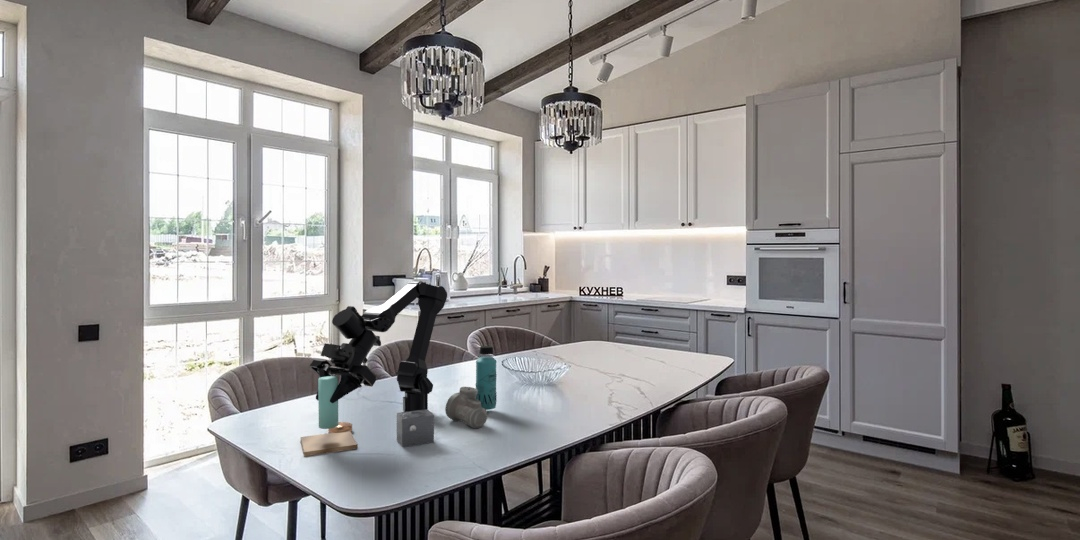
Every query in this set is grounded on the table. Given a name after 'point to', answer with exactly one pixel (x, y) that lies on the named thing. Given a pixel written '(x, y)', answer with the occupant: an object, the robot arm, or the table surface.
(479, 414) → the pipe fitting
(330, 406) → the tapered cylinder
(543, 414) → the table surface
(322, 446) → the board
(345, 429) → the copper dome
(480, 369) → the beverage bottle
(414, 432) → the box
